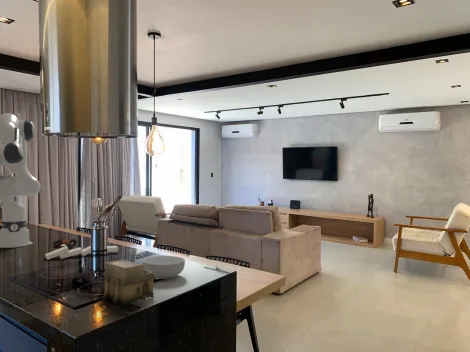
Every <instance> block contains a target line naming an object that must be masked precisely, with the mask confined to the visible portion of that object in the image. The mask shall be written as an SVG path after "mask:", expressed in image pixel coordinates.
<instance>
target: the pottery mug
mask: <svg viewBox="0 0 470 352" xmlns="http://www.w3.org/2000/svg"><path fill="white" fill-rule="evenodd" d="M72 243H73V244H72ZM77 244H78V241H77V239H76V238H71V239H67V237H61V238H59V239H58V240H55V241H54V242H53V243H52V249H60V248H63V247H62V245H65V246H67V247H68V250H72V249H74V247H75V248H76V246H77Z"/></svg>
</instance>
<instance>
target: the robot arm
mask: <svg viewBox="0 0 470 352" xmlns="http://www.w3.org/2000/svg"><path fill="white" fill-rule="evenodd" d="M35 134H36V126H35V124H34V122H33V121H30V120H21V119H18V117H17V116H16V115H15V114H12V113H10V112H7V113H2V114H0V143H3V144H0V167H2V166H4V168H5V169H6V170H7V171H9V172H11V173H13V174H15V175H16V176H14V175H12V174H5V175H4V174H3V172H2V169H1V168H0V207H1V212H2V221H1V223H0V227H1V229H0V248H4V249H6V248H9V249H10V248H12V249H13V248H20V247H26V246H30V245H33V242H32V241H30V230H29V229H28V228H27V220H26V207H25V205H24V204H22V203H20V202H18V201H16V200H14V197H32V196H37V195H38V194H39V192H40V191H41V189H42V188H41V186H42V185H41V182H40V181H39V180H38V179H37V178H36V177H34V176H33V175H32V173H31V172H30V170H29V167H28V144H27V143H28V142H30V140H32V139H33V138H34V137H35Z"/></svg>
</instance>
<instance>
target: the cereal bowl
mask: <svg viewBox="0 0 470 352" xmlns="http://www.w3.org/2000/svg"><path fill="white" fill-rule="evenodd" d="M185 261H186V259H185V258H183V257H180V256H176V255H175V256H173V255H158V256H150V257H147V258H144V259H143V260H142V264H144V266H145V270H147V271H151V272H153V275H154V277H155V278H158V279H166V280H170V278H171V279H173V278H174V277H176V276H178V275H180V274H181V273H182V272H183V271H184V268H185V265H186V264H185V263H186V262H185ZM158 279H157V280H158Z"/></svg>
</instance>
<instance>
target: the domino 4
mask: <svg viewBox="0 0 470 352" xmlns="http://www.w3.org/2000/svg"><path fill="white" fill-rule="evenodd" d="M106 247H107V251H108V252H113V251H118V252H119V247H118V246H117V245H108V246H106Z"/></svg>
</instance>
